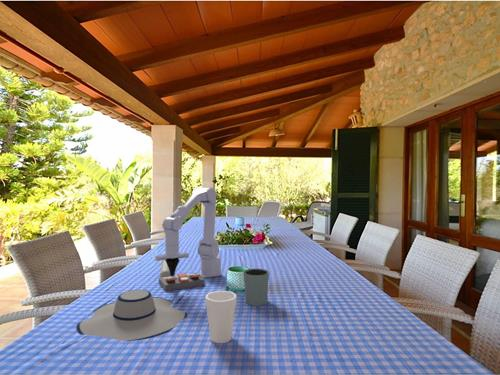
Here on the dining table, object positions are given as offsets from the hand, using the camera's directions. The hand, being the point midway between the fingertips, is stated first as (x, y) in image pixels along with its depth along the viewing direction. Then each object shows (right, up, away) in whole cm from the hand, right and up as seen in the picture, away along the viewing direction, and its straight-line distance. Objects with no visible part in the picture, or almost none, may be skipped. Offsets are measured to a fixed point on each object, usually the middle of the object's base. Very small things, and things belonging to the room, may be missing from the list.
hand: (172, 275), depth 150 cm
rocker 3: (+9, -2, +7) cm, 11 cm away
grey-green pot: (+37, -7, -15) cm, 40 cm away
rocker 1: (-1, -2, +2) cm, 3 cm away
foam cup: (+25, -8, -46) cm, 53 cm away
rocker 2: (+4, -2, +5) cm, 6 cm away
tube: (-9, -6, +25) cm, 27 cm away
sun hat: (-6, -8, -30) cm, 32 cm away
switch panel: (+3, -6, +7) cm, 9 cm away
